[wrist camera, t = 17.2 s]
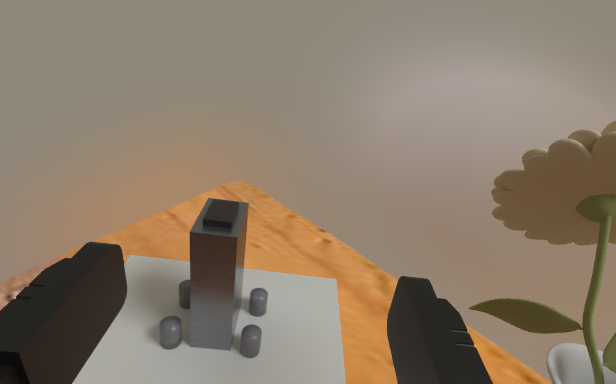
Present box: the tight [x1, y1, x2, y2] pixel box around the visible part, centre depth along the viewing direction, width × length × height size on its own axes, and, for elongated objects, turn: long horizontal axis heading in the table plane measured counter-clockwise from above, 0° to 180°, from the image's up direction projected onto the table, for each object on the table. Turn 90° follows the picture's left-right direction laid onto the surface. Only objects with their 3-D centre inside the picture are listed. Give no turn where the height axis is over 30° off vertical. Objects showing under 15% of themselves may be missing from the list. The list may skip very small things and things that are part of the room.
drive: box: [190, 198, 249, 351], centre depth 28 cm, size 3×5×12 cm, turn 0°
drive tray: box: [72, 255, 346, 384], centre depth 31 cm, size 22×16×4 cm
